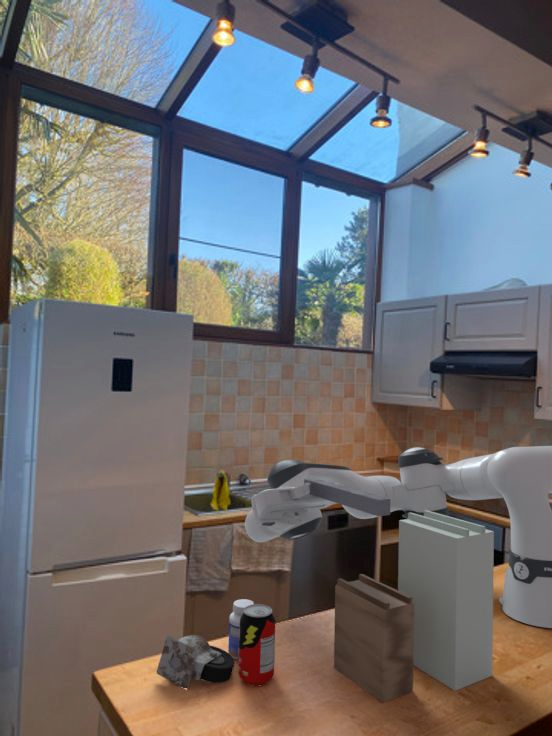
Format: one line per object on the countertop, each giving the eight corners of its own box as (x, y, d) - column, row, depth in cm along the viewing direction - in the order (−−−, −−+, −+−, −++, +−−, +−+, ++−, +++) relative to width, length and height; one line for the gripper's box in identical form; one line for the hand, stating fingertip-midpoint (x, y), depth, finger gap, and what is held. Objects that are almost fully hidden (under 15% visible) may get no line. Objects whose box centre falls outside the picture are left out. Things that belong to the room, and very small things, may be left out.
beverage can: (261, 666, 100) (263, 600, 100) (281, 682, 95) (282, 612, 95) (231, 675, 96) (233, 607, 97) (249, 692, 91) (251, 620, 91)
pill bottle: (237, 644, 108) (238, 595, 108) (261, 651, 105) (262, 600, 106) (222, 656, 103) (224, 605, 103) (247, 663, 101) (248, 610, 101)
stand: (432, 643, 110) (434, 509, 111) (492, 675, 98) (493, 524, 99) (396, 655, 105) (399, 514, 106) (455, 690, 93) (457, 531, 94)
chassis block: (362, 657, 104) (364, 573, 104) (412, 691, 93) (414, 596, 93) (333, 667, 100) (335, 579, 101) (382, 703, 89) (384, 604, 90)
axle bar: (314, 491, 115) (314, 478, 116) (390, 514, 96) (390, 498, 96) (303, 492, 114) (304, 478, 114) (378, 516, 94) (378, 500, 94)
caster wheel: (235, 684, 98) (207, 705, 89) (184, 657, 103) (154, 674, 94) (245, 648, 99) (219, 664, 90) (195, 622, 103) (165, 635, 94)
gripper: (327, 516, 126) (361, 496, 116) (250, 526, 115) (281, 505, 105) (320, 490, 129) (353, 468, 119) (244, 497, 118) (273, 474, 108)
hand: (318, 485), depth 112 cm, fingers closed on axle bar, 3 cm apart
